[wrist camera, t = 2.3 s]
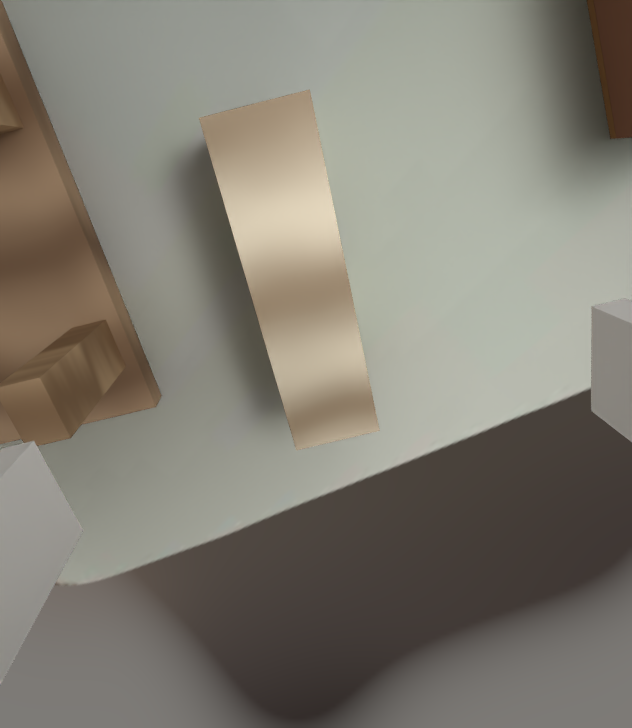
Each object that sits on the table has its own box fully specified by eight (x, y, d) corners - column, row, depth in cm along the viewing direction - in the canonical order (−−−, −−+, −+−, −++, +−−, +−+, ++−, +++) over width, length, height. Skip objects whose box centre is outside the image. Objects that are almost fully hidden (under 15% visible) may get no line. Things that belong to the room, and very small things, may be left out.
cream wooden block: (219, 130, 25) (198, 118, 19) (302, 109, 25) (309, 89, 18) (293, 391, 31) (296, 450, 25) (358, 376, 31) (379, 430, 25)
